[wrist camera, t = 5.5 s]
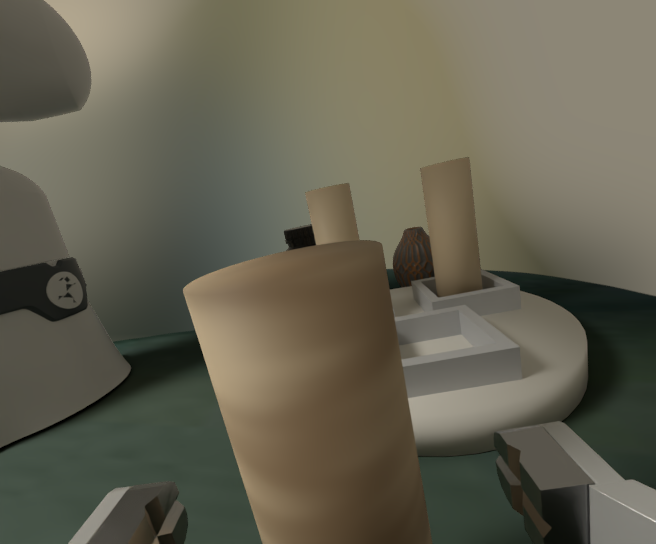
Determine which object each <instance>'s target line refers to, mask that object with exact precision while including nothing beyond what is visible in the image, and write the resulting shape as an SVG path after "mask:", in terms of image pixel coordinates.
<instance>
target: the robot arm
mask: <svg viewBox="0 0 656 544" xmlns="http://www.w3.org/2000/svg"><path fill="white" fill-rule="evenodd" d="M90 89H91V71H90V66H89V62H88V59H87V57H86V54H85V51H84V49H83V47H82V45H81V43H80V41H79V40H78V38H77V36H76V35H75V33H74V32H73V31H72V29H71V28H70V26H69V25H68V24H67V23H66V21H65V20H64V19H63V18H62V17H61V16H60V15H59V14H58V13H57V12H56V11H55V10H54V9H53V8H52V7H51V6H50V5H49V4H47V3H46V2H45V1H44V0H0V122H17V121H34V120H39V119H44V118H49V117H54V116H58V115H63V114H67V113H71V112H75V111H79V110H81V109H82V107H83V106H84V105H85V103H86V101H87V99H88V96H89V93H90ZM67 257H69V254H68V251H67V249H66V246H65V243H64V241H63V238H62V236H61V233H60V230H59V228H58V225H57V223H56V220H55V217H54V215H53V212H52V210H51V207H50V205H49V202H48V199H47V197H46V195H45V194H44V192H43V191H42V190H41V189H40V187H39V186H38V185H36V184H35V183H34V182H33V181H32V180H30V179H29V178H27V177H26V176H24V175H22V174H20V173H18V172H16V171H13V170H10V169H8V168H5V167H1V166H0V271H1V272H0V448H1V447H3V446H5V445H7V444H9V443H11V442H14V441H16V440H18V439H21V438H23V437H25V436H28V435H30V434H32V433H35V432H37V431H39V430H42V429H44V428H46V427H48V426H50V425H53V424H55V423H57V422H59V421H61V420H63V419H65V418H67V417H69V416H70V415H72V414H74V413H76V412H78V411H80V410H81V409H83V408H85V407H87V406H88V405H90V404H92V403H93V402H95V401H96V400H98V399H100V398H101V397H103V396H104V395H105V394H107V393H108V392H110V391H111V390H112V389H114V388H115V387H116V386H117V385H119V384H120V383H121V382H122V381H123V380H124V379H125V378H126V377H127V375H128V374H129V372H130V370H131V366H130V364H129V363H128V362H127V361H126V360H125V359H124V357H123V356H122V355H121V354H120V352H119V351H118V350H117V348H116V347H115V345H114V344H113V342H112V341H111V339H110V337H109V336H108V334H107V332H106V330H105V329H104V327H103V325H102V324H101V322H100V320H99V318H98V317H97V314H96V313H95V311H94V309H93V308H92V307H91V305H90V303H89V301H88V299H87V293H86V283H85V280H84V278H83V275H82V271H81V269H80V268H79V266H78V264H77V262H76V259H75V258H73V257H71V258H67ZM63 258H66V259H63ZM58 259H61V260H58ZM54 260H56V261H54ZM49 261H51V262H49ZM44 262H46V263H44ZM39 263H41V264H39ZM34 264H36V265H34ZM30 265H31V266H30ZM25 266H26V267H25ZM20 267H21V268H20ZM15 268H16V269H15ZM10 269H11V270H10ZM5 270H6V271H5ZM493 438H494V446H495V448H496V449H497V451H498V452H499V454H500V456H499V457H498V459H497V460H496V467H497V474H498V477H499V480H500V483H501V487H502V489H503V491H504V493H505V495H506V497H507V499H508V501H509V503H510V505H511V506H512V508H513V509H514V510H516V511H517V512H519V513H520V514H521V515H523V516H524V526H525V530H526V532H527V534H528V535H529V537H530V539H531V540H532V542H533V544H656V490H655V489H652V488H650V487H648V486H646V485H644V484H642V483H640V482H637V481H635V480H624V479H623V478H622V477H621V476H620V475H619V474H618V473H617V472H616V471H615V470H614V469H613V468H612V467H611V466H610V465H608V464H607V463H606V462H605V461H604V460H603V459H602V458H601V457H600V456H599V455H598V454H597V453H596V452H595V451H594V450H593V449H591V448H590V447H589V446H588V445H587V444H586V443H585V442H584V441H583V440H582V439H581V438H580V437H579V436H578V435H577V434H576V433H574V432H573V431H572V430H571V429H570V428H569V427H568V426H567V425H566V424H565V423H563V422H560V421H556V422H550V423H544V424H538V425H537V426H536V425H534V426H528V427H521V428H515V429H509V430H503V431H497V432H494V437H493ZM178 494H179V491H178V489H177V486H176V484H175V482H170V481H168V482H159V483H151V484H143V485H135V486H131V487H122V488H116V489H114V490H112V491H111V492H109V493H108V494H107V495H106V497H105V498H104V499H103V500H102V502H101V503H100V504H99V505H98V507H97V508H96V509H95V511H94V512H93V513H92V514H91V516H90V517H89V518H88V519H87V521H86V522H85V523H84V524H83V526H82V527H81V528H80V529H79V531H78V532H77V533H76V534H75V536H74V537H73V538H72V540H71V541H70V542H69V543H68V544H184V542H185V539H186V533H187V528H188V518H187V512H186V510H185V507H184V506H183V505H182V504H180V503H179V502H178V501H176V499H177V497H178Z"/></svg>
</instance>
